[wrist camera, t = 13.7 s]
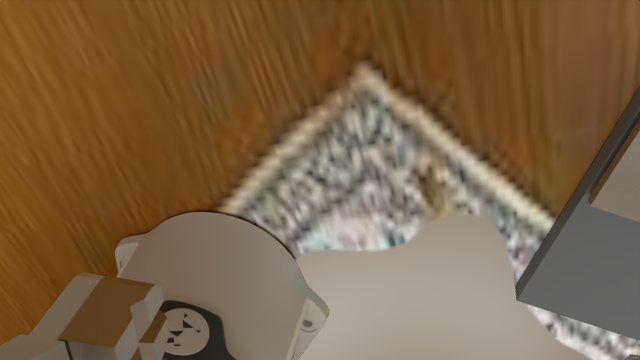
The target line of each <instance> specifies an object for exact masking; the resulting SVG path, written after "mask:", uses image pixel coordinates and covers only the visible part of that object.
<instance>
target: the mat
mask: <svg viewBox="0 0 640 360" xmlns="http://www.w3.org/2000/svg"><path fill="white" fill-rule="evenodd" d="M639 119H640V87H639V89H638V90H637V92H636V93H635V95H634V97H633V98H632V100H631V102H630V103H629V105H628V106H627V108H626V110H625V111H624V113H623V114H622V116H621V118H620V119H619V121H618V122H617V124H616V126H615V127H614V129H613V130H612V132H611V134H610V135H609V137H608V138H607V140H606V142H605V143H604V145H603V147H602V148H601V150H600V151H599V153H598V155H597V156H596V158H595V159H594V161H593V163H592V164H591V166H590V167H589V169H588V171H587V172H586V174H585V175H584V177H583V179H582V180H581V182H580V183H579V185H578V187H577V188H576V190H575V191H574V193H573V195H572V196H571V198H570V200H569V201H568V203H567V204H566V206H565V208H564V209H563V211H562V212H561V214H560V216H559V217H558V219H557V220H556V222H555V224H554V225H553V227H552V228H551V230H550V232H549V233H548V235H547V236H546V238H545V240H544V241H543V243H542V244H541V246H540V248H539V249H538V251H537V253H536V254H535V256H534V257H533V259H532V261H531V262H530V264H529V265H528V267H527V269H526V270H525V272H524V273H523V275H522V277H521V278H520V280H519V281H518V283H517V285H516V286H515V289H516V298H517V301H520V302H523V303H526V304H529V305H532V306H535V307H538V308H541V309H544V310H548V311H551V312H554V313H557V314H560V315H563V316H566V317H569V318H572V319H575V320H578V321H581V322H584V323H587V324H590V325H593V326H597V327H600V328H603V329H606V330H609V331H612V332H615V333H618V334H621V335H624V336H627V337H630V338H633V339H636V340H639V341H640V222H638V221H635V220H631V219H628V218H625V217H622V216H619V215H616V214H613V213H610V212H607V211H603V210H600V209H597V208H594V207H591V206H590V204H589V201H588V198H589V197H590V195H591V193H592V192H593V190H594V189H595V187H596V186H597V184H598V183H599V181H600V179H601V178H602V176H603V175H604V173H605V172H606V170H607V169H608V167H609V166H610V164H611V162H612V161H613V159H614V158H615V156H616V155H617V153H618V152H619V150H620V148H621V147H622V145H623V144H624V142H625V141H626V139H627V138H628V136H629V135H630V133H631V131H632V130H633V128H634V127H635V125H636V124H637V122H638V121H639Z"/></svg>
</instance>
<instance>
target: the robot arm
mask: <svg viewBox="0 0 640 360" xmlns="http://www.w3.org/2000/svg"><path fill="white" fill-rule="evenodd" d="M115 258H116V263H117V268H118V275H117V277H112V276H104V275H98V274H93V273H87V272H82V273H80V274H78V275H76V276H75V277H74V278H73V279H72V280H71V282H70V283H69V284H68V285H67V287H66V288H65V289H64V290H63V292H62V293H61V294H60V296H59V297H58V298H57V299H56V301H55V302H54V303H53V304H52V306H51V307H50V308H49V310H48V311H47V312H46V313H45V315H44V316H43V317H42V318H41V320H40V321H39V322H38V324H37V325H36V326H35V327H34V329H33V330H32V331H31V332H30V334H29V335H23V334H20V335H18V336H16V337H14V338H13V339H11V340H9V341H7V342H5V343H3V344H1V345H0V360H298V359H299V358H300V356H301V355H302V354H303V352H304V351H305V350H306V348H307V347H308V345H309V344H310V343H311V341H312V340H313V338H314V337H315V336H316V334H317V333H318V332H319V330H320V329H321V328H322V326H323V325H324V324H325V322H326V319H327V317H328V315H329V308H328V307H327V305H326V304H325V302H324V301H323V300H322V299H321V298H320V297H319V296H318V295H317V294H316V293H314V292H313V291H312V290H311V289H310V288H309V286H308V285H307V283H306V282H305V280H304V277H303V276H302V273H301V271H300V269H299V267H298V265H297V263H296V262H295V260H294V259H293V257H292V256H291V255H290V253H289V252H288V251H287V250H286V249H285V248H284V247H283V246H282V245H281V244H280V243H279V242H278V241H277V240H276V239H275V238H273V237H272V236H271V235H269V234H268V233H266V232H265V231H263V230H262V229H260V228H258V227H256V226H255V225H253V224H251V223H248V222H246V221H244V220H241V219H238V218H235V217H232V216H229V215H224V214H219V213H212V212H192V213H185V214H181V215H178V216H175V217H172V218H170V219H168V220H166V221H164V222H162V223H161V224H160V225H158V226H157V227H156V228H154V229H153V230H152V231H150V232H148V233H146V234H141V235H134V236H130V237H126V238H124V239H122V240H121V241H120V242H119V244H118V245H117V247H116V249H115ZM307 320H309V321H307ZM625 360H640V356H639V355H631V354H630V355H629V356H628V357H627V358H626V359H625Z"/></svg>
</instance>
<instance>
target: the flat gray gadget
mask: <svg viewBox="0 0 640 360" xmlns="http://www.w3.org/2000/svg"><path fill="white" fill-rule="evenodd" d="M588 201H589V204H590V206H591V207H594V208H597V209H600V210H603V211H607V212H610V213H613V214H616V215H619V216H622V217H625V218H628V219H631V220H635V221H638V222H640V119H639V121H638V122H637V124H636V125H635V127H634V128H633V130H632V131H631V133H630V135H629V136H628V138H627V139H626V141H625V142H624V144H623V145H622V147H621V148H620V150H619V152H618V153H617V155H616V156H615V158H614V159H613V161H612V162H611V164H610V166H609V167H608V169H607V170H606V172H605V173H604V175H603V176H602V178H601V179H600V181H599V183H598V184H597V186H596V187H595V189H594V190H593V192H592V193H591V195H590V197H589V198H588Z"/></svg>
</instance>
